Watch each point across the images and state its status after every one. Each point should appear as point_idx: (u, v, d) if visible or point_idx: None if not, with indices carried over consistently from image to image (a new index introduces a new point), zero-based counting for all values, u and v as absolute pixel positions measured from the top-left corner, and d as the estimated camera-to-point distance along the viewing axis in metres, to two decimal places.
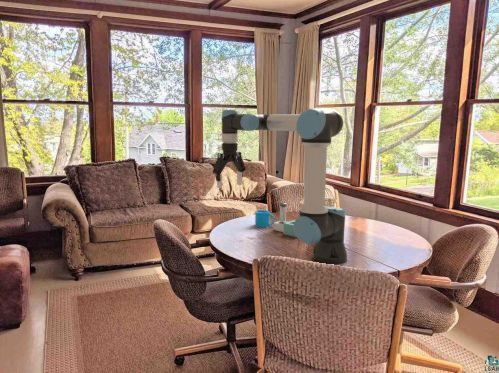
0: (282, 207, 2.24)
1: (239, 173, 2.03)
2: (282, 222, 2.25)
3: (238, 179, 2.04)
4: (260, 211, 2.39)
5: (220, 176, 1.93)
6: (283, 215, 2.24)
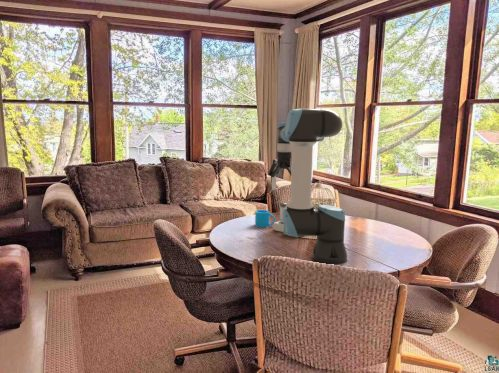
0: (282, 207, 2.24)
1: None
2: (282, 222, 2.25)
3: None
4: (260, 211, 2.39)
5: (272, 178, 2.27)
6: None
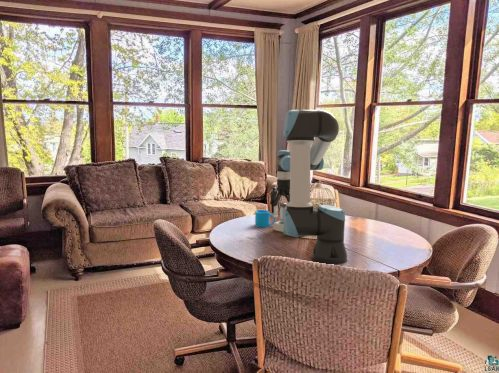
0: (282, 207, 2.24)
1: None
2: (282, 222, 2.25)
3: None
4: (260, 211, 2.39)
5: (274, 207, 2.28)
6: None
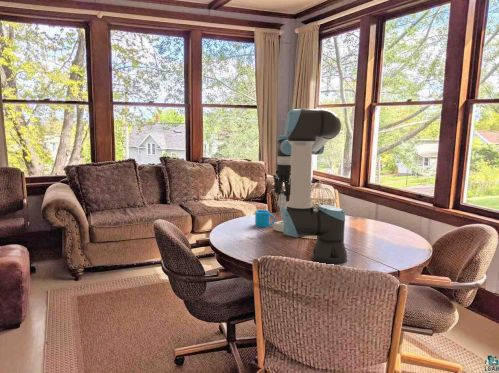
0: (282, 194, 2.22)
1: None
2: (282, 209, 2.24)
3: None
4: (260, 211, 2.39)
5: (278, 196, 2.25)
6: None
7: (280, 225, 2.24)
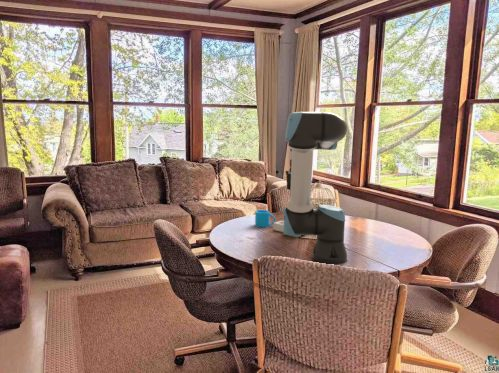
0: None
1: None
2: None
3: None
4: (260, 211, 2.39)
5: None
6: None
7: (280, 225, 2.24)
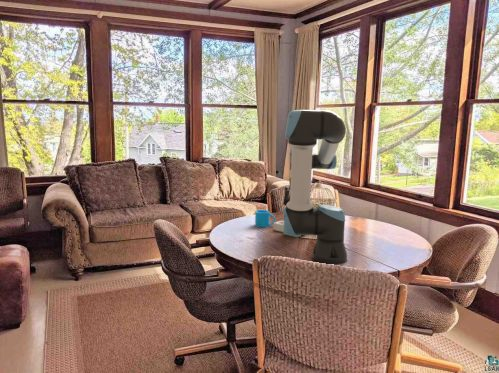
0: None
1: None
2: None
3: None
4: (260, 211, 2.39)
5: None
6: None
7: (280, 225, 2.24)
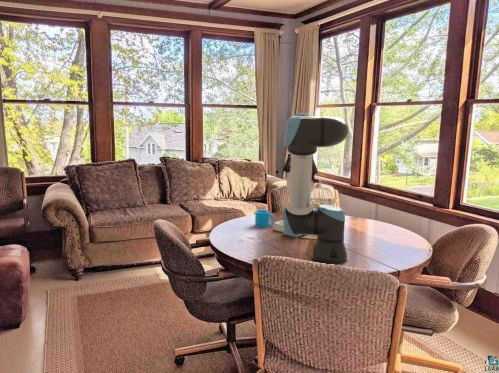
0: None
1: None
2: None
3: None
4: (260, 211, 2.39)
5: (287, 174, 2.13)
6: None
7: (280, 225, 2.24)
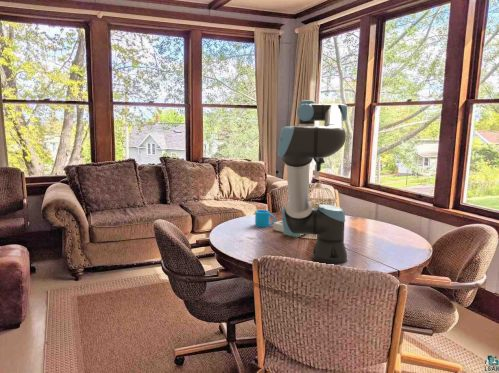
0: None
1: None
2: None
3: None
4: (260, 211, 2.39)
5: None
6: None
7: (280, 225, 2.24)
